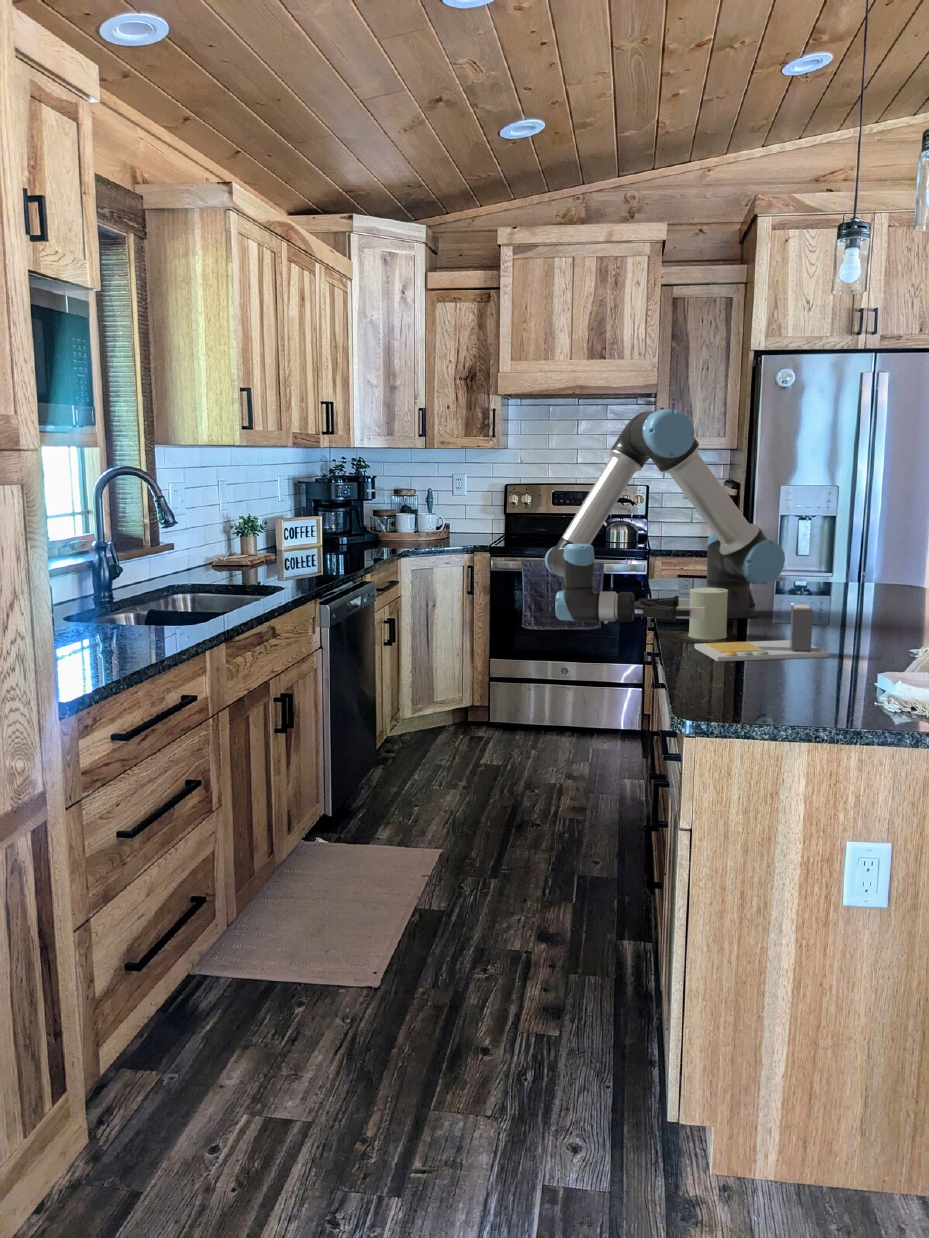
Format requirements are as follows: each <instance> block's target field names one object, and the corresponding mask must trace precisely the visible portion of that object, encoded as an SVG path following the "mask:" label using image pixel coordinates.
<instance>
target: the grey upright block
mask: <svg viewBox="0 0 929 1238" xmlns="http://www.w3.org/2000/svg"><path fill="white" fill-rule="evenodd" d="M813 610H814V609H813V608H812V607H811V606H810V605H809V604H793V605H791V610H790V636H789V640H790V647H791V649H792V650H807V651H811V645H812V635H813V634H812V633H813V612H814V611H813Z"/></svg>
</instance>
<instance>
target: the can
mask: <svg viewBox="0 0 929 1238" xmlns="http://www.w3.org/2000/svg"><path fill="white" fill-rule="evenodd" d="M727 597H728V590H726V589H722V588H706V587H695V588H691V589H689V599H690V607H705V615H704V619H689V626H688V627H689V628H688V629H689V630H688V637H689V638H692V639H695V640H703V641H704V640H705V641H707V640H708V641H717V640H723V639H726V638H727V637H728V634H727V631H728V630H727V629H728V628H727V627H728V626H727V625H728V623H727V622H728V618H727Z"/></svg>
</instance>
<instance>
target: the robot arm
mask: <svg viewBox="0 0 929 1238" xmlns="http://www.w3.org/2000/svg"><path fill="white" fill-rule="evenodd" d="M695 432H696V431H695V426H694V424H693V422H692V421H691V419H690V417H688V416H687V414H685V413H683V412H681V411H680V410H677V409H671V408H661V409H657V410H653V411H643V412H640V413H639V414H635V416H634V417H632V418H631V419H630V420H629V421H628V423H627V424H626V425H625V427H624V428H623V429H622V431H621V432H620V434H619V436H617V438H616V441H615V442H614V444H613V445H612V448H610V450H609V455H610V456H609V457H610V458H609V459H608V461H607V462H606V464H605V466H604V468H603V470H601V472H600V474H599V476H598V477H597V479H596V481H595V483H594V484H593V485H592V487H591V489H590V490H589V492H588V494H587V495H586V497H585V499H584V500H583V502H582V504H581V505H580V507H579V508H578V510H577V512H576V514H575V515H574V517H573V519H572V520H571V521H570V523H569V525H568V527H567V528H566V530H565V531H564V533H563V535H562V536H561V538H560V539H559V541H558V543H557V544H556V545H555V546H552V547H551V548H550V549H549V550H548V551H547V552H546V553H545V556H544V564H545V567H546V569H547V570H548V571H549V572H550V573H552V574H554V575H555V576H558V577H563V581H564V582H563V584H564V585H563V590H559V591H557V592H556V594H555V602H554V603H555V604H554V610H555V616H556V618H557V619H558V620H560V621H572V622H603V624H605V625H608V623H610V622H616V621H617V622H619V623H632V622H633V621H634V617H636V618H638V617H641V618H652V619H661V620H662V619H663V620H668V621H671V622H677V619H685V620H686V619H689V620H690V619H704V615H705V607H690V598H679V595H674V596H672V597H657V598H656V597H655V598H641V597H640V598H638V600H636V601H635V594H634V592H632V591H630V592H629V591H619V593H617V592H616V591H594V588H595V583H594V582H595V561H596V560H595V558H596V557H595V550H594V546H593V545H592V542H593V541H594V539H595V538H596V536H597V534H598V533H599V531H600V530H601V529H602V527H603V525H604V523H605V521H606V520H607V519H608V517H609V515H610V513H611V512H612V510H613V509H614V507H615V505H616V504H617V502H618V501H619V499H620V497H621V496H622V494H623V493H624V491H625V489H626V488H627V486H628V485H629V483H630V481H631V480H632V478H633V476H634V475H635V474H636V472H640V471H642V469H643V468H644V466H645V464H646V463H647V462H648V461H649V460H650V459H651V461H652V463H653V464H654V465H655V466H656V469H658V470H659V472H660V473H664V474H665V473H666V474H669V475H670V476H671V478H672V479H673V481H674V482H675V483H676V484H677V486H678V487H679V488H680V490H681V491H682V493H683V494H684V496H686V498H687V499H688V501H689V502H690V503H691V505H692V506H693V508H694V509H695V510H696V512H698V514H699V516H700V517H701V518H702V520H703V521H704V522H705V524H706V525H707V527H708V528H709V529H710V530H711V532H712V533H711V534H709V535H708V538H707V544H706V549H707V552H706V553H707V554H706V555H707V556H706V559H707V560H706V587H705V588H722V589H726V590H728V597H727V619H744V618H745V619H746V618H752V617H755V616H756V615H757V606H756V602H755V599H754V595H753V593H752V590H751V584H752V585H761V586H762V585H768V584H770V583H772V582H774V581H776V580H777V579H778V577H779V576H780V575H781V574H782V572H783V569H784V566H785V562H786V557H785V552H784V549H783V548H782V546H781V545H780V544H779V543H777V542H776V541H774V540H772V539H768V537H767V536H766V534H764V532H763V530H762V529H761V528H760V526H759V525H758V524H755V523H749V521H748V520H747V519H746V517H745V516H744V515H743V513H742V512H741V511H740V509H739V507H738V506H737V505H736V504H735V502H734V501H733V499H732V498H731V497H730V495H729V493H727V491H726V490H725V488H724V487H723V486H722V485H721V483H720V481H719V480H718V479H717V477H716V476H715V475H714V473H713V472H712V471H711V469H710V467H709V466H708V465H707V463H706V462H705V461H704V459H703V458H702V456H701V455H700V453H699V447H700V443H699V441H698V440H697V439H696V437H695Z"/></svg>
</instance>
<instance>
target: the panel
mask: <svg viewBox="0 0 929 1238" xmlns="http://www.w3.org/2000/svg"><path fill="white" fill-rule="evenodd" d="M694 649H696V650H697V651H698V652H701V653H702V654H704V655H706V656H708V657H709V658H711V659H713V660H714V661H716V662H734V661H736V662H739V661H740V662H742V661H758V660H759V661H763V660H767V661H768V660H787V659H788V660H789V659H792V660H793V659H811V658H813V659H814V658H829V657H830V652H829V651H827V650H824V649H822V648H820V647H816V646H814V645H812V644H811V651H807V650H792V649H791V647H790V639H786V640H785V639H784V640H782V639H781V640H759V641H758V640H757V641H731V642H729V641H727V642H707V643H706V642H705V643H694Z"/></svg>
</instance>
